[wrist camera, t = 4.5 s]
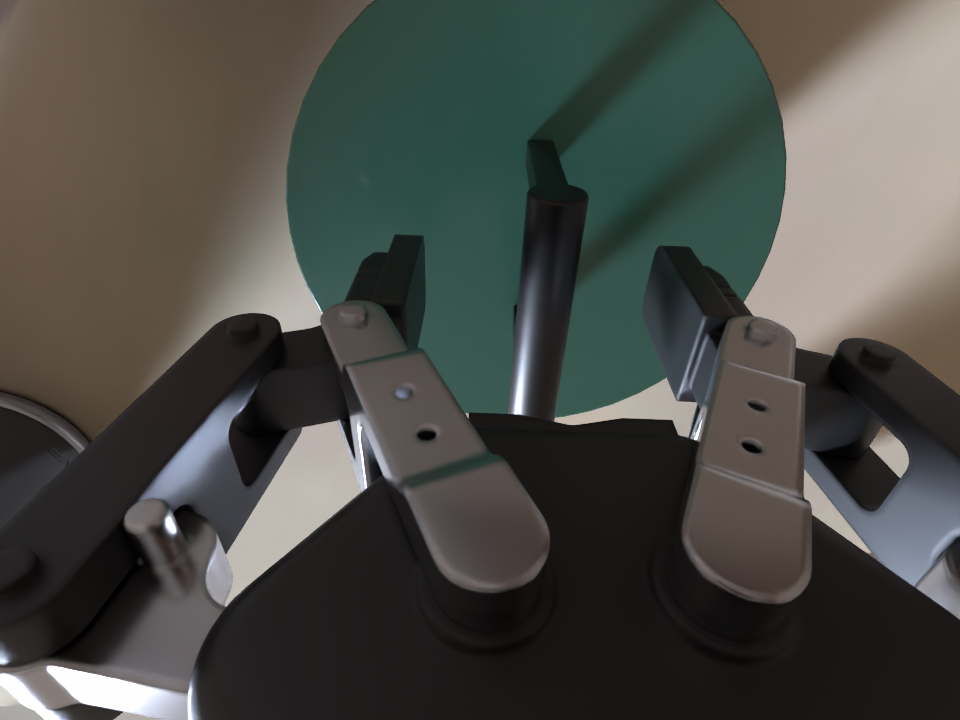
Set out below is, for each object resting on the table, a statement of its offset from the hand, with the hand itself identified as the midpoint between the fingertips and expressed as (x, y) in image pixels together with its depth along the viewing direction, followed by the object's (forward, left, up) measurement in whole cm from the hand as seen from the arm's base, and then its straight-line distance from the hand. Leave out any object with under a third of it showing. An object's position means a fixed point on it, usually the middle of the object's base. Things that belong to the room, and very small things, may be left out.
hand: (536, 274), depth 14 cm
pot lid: (0, 0, -3) cm, 3 cm away
